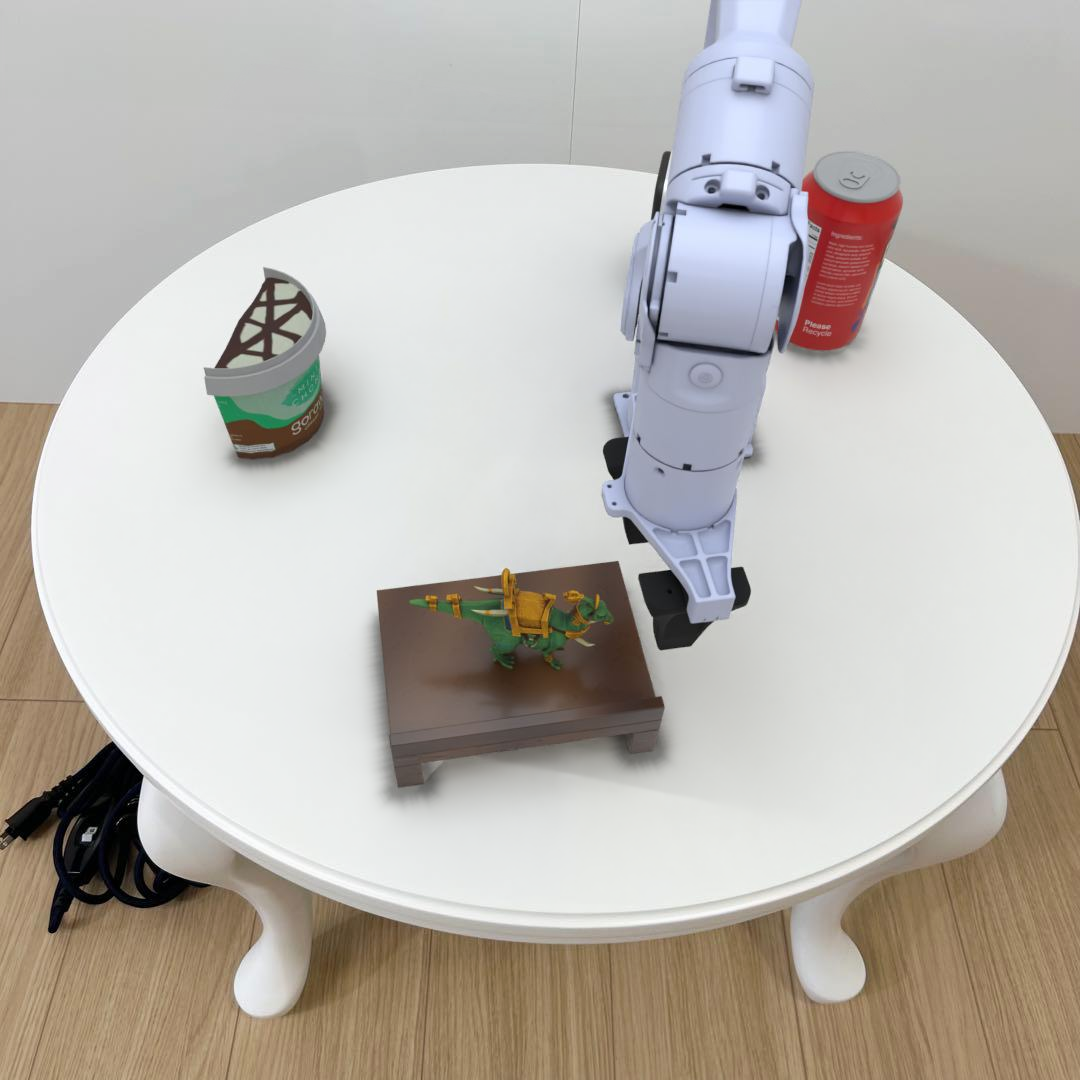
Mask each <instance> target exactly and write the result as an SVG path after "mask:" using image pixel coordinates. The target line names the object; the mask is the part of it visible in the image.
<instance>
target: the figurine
mask: <svg viewBox="0 0 1080 1080" xmlns="http://www.w3.org/2000/svg"><path fill="white" fill-rule="evenodd" d="M510 574H511V575H510ZM501 575H502V578H501V582H502V589H484V588H479V587H476V588H477V589H478V590H479V591H481V592H484V593H488V594H494V595H504V598H494V599H488V600H482V601H463V600H462V599H461V597H460V596H458V594H452V595H447V601H438V598H437V597H436V596H426V600H424V599H415V600H410V601H409V602H410V604H413V605H416V606H419V607H423V608H428V609H430V610H432V611H436V610H437V611H441V612H445V613H448V614H452V615H454V616H455V617H457V618H460V619H462V618H467V619H471V620H474V621H476V622H478V623H480V624H482V625H484V627H485V629H486V631H487V633H488V635H489V636H490V638H491V639H492V641H493V642H494V644H495V645H494V646H492V647H490V648H489V650H490V651H491V652H492V653H493V655H494V656H495V658H494V659H493V660H494V662H497V660H498V661H499V662H500V663H501V664H502V665H503V666H505V667H507V668H509V669H512V668H513V667H512V665H513V664H514V662H513V661H512V659H513V658H514V657H513V656H504V655H503V654H506V653H510V652H512V651H513V650H514V649H515V648H516V647H517V646H518V645H519V644H522V645H525V646H527V647H529V648H531V649H534V650H537V649H542V650H541V651H540V652H541V653H542V656H543V657H544V658H543V659H545V660H546V661H547V662H549V663H550V664H551V665H552V666H553V667H554V668H555V669H557V670H560V667H559V666H556V664H559V665H561V664H562V663H563V662H562V661H560V660H557V661H556V660H553V659H552V654H551V651H555V650H556V649H558V648H564V644H565V643H566V641H567V640H569V639H572V640H574V641H576V642H577V643H579V644H581V645H584V646H592V645H595V644H590V643H587V642H586V641H585V640H584V639H583V638H581V636H582V635H583V634H584V633H585V632H586V631H587V630H588V629H589V628H590V626H589V624H591V623H594V622H595V621H596V622H599V621H603V620H604V621H605V622H604V623H605V624H606V625H608V624H611V623H612V622H613V621H614V619H613V616H612V615H611V614H610V612H609V611H608V610H607V607H606V604H605V603H604V601H602V600H599V595H598V594H597V595H596V596H595V600H592V599H590V598H587V597H585V596H584V595H583V594H579V593H578V592H577V591H573V590H571V591H569V592H568V593H567V592H566V593H564V594H563V596H565V600H566V601H567V602H569V603H570V604H575V603H576V601H580V600H583V601H585V602H587V603H578V604H577V605H575V606H574V607H573V609H572V610H571V611H570V612H569V611H566V612H565V611H563V610H561V609H558V608H556V607H554V603H553V602H554V601H555V598H556V595H552V594H548V593H545V594H544V593H543V595H541V594H538V593H534V592H527V591H520V590H519V589H516V588H515V585H516V577H515V574H514V573H511V570H510V569H509V568H508V567H505V568H504V569H503V570H502V572H501ZM474 587H475V586H474ZM451 600H452V601H451ZM590 616H592V617H593V618H594V619H595V621H590ZM509 664H511V665H509Z"/></svg>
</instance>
